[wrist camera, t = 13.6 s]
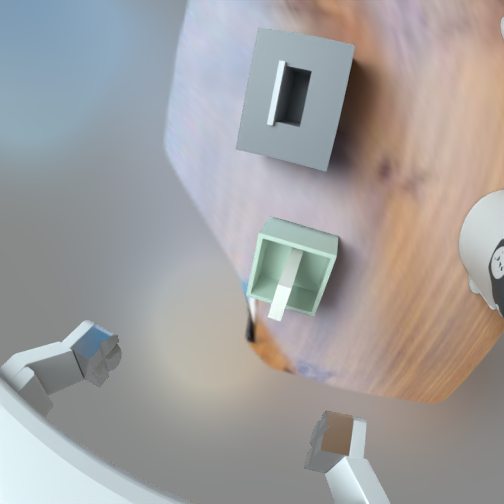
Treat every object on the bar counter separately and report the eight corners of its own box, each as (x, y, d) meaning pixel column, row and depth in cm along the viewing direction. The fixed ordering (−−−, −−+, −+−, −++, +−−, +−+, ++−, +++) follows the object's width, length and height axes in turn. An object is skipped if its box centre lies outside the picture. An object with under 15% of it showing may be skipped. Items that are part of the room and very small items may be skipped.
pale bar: (305, 246, 43) (291, 288, 34) (295, 275, 46) (280, 321, 36) (293, 242, 43) (277, 284, 34) (285, 271, 46) (267, 317, 36)
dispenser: (352, 58, 30) (355, 44, 23) (329, 161, 38) (325, 174, 30) (274, 42, 32) (256, 26, 25) (255, 142, 39) (233, 151, 32)
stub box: (338, 236, 42) (336, 255, 37) (318, 292, 47) (314, 316, 42) (270, 216, 43) (259, 232, 38) (257, 274, 48) (245, 295, 43)
